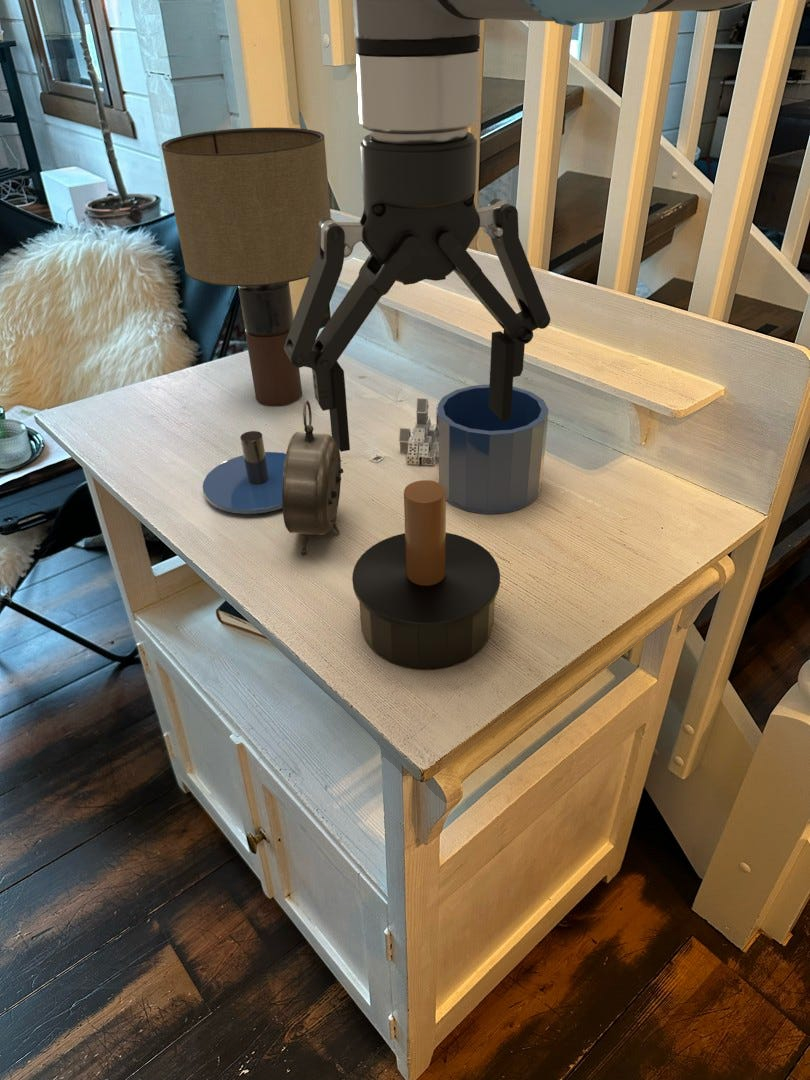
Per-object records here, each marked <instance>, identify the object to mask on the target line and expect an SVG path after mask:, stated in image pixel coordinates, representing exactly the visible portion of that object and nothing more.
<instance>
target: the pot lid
mask: <svg viewBox="0 0 810 1080" xmlns="http://www.w3.org/2000/svg"><path fill="white" fill-rule="evenodd" d="M239 440H240V445H241V450H242V455H239V456H236V457H232V458H230V459H228V460H226V461H223V462H221V463H220V464H218V465H216V466H215V467H214V468H212V469H211V470H210V471H209V472H208V473H207V474H206V476H205V478H204V479H203V482H202V493H203V495H204V498H205V499H206V501H207V502H208V503H209V504H210V505H212V506H213V507H214V508H216V509H219V510H221V511H224V512H227V513H233V514H240V515H254V514H263V513H268V512H269V513H270V512H273V511H277V510H280V509H281V510H282V509H283V508H282V479H283V469H284V463H285V457H286V452H285V453H284V452H278V451H266V449H265V443H264V437H263V434H262V432H261V431H258V430H249V431H246V432H243V433H242V434H241V435H240V439H239Z"/></svg>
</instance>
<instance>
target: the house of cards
mask: <svg viewBox="0 0 810 1080" xmlns="http://www.w3.org/2000/svg"><path fill="white" fill-rule="evenodd" d="M429 407H430V406H429V400H428V398H420V397H419V398H417V399H416V411H415V415H416V422H415V423H414V426H413V428H412V431H411V430H410V428H409V427H408V428H407V427H399V431H398V432H399V433H398V442H399V453H400V454H406V455H405V465H415V466H420V465H421V466H422V465H423V466H434V467H435V466H436V458H437V423H432V422H431V416H430V415H429ZM385 457H386V456H385V455H381V454H378V453H376V454H375V455H374V456H373V457H371V458H370V459H369V461H372V462H374V463H380V461H381V460H383V459H384V458H385Z"/></svg>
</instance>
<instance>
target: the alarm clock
mask: <svg viewBox="0 0 810 1080" xmlns="http://www.w3.org/2000/svg"><path fill="white" fill-rule="evenodd" d="M307 410H308V424H307ZM312 415H313V413H312V408H311V403H310V401H309V400H308V399H305V400H304V402H303V408H302V418H303V427H304V432H300V431H296V432H295V433H293V434H292V436H291V438H290V440H289V441H288V445H287V449H286V452H285V453H286V457H285V463H284V469H283V479H282V508H281V509H282V517H283V522H284V526H285V528H286V530H287V531H288V532H289V533H290V534H300V537H301V538H300V544H301V549H300V554H301V556H305V555H306V554H307V544H308V539H309V535H315V536H316V535H317V536H322V535H325V534H327V533H329V532H330V531H331V530H332V528H333V529H334V531H335V532H336V533H337V534H340V532H341V531H340V529H339V528H338V526H337V523H336V522H337V513H338V509H339V503H340V497H341V496H340V495H341V483H342V482H341V481H342V474H343V473H344V469H343V468H342V461H341V452H340V450H339V448H338V446H337V444H336V443H335V441H334V439H333V437H332V435H331V434H327V433H326V434H325V433H314V426H313V425H312V421H313V416H312Z"/></svg>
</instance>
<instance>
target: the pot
mask: <svg viewBox="0 0 810 1080" xmlns="http://www.w3.org/2000/svg"><path fill="white" fill-rule="evenodd" d="M489 386H490V384H475V385H469V386H466V387H462V388H458V389H455V390H453V391H451V392H449V393H448V394H446V395H443V397H441V399H440V400H439V402H438V404H437V405H436V406H435V407H436V409H435V410H436V412H435V415H436V416H435V417H436V424H437V454H436V482H438V483H440V484H441V485H443V486H444V488H445V490H446V503H448V504H450V505H452V506H453V507H455V508H458V509H461V510H463V511H467V512H470V513H475V514H484V515H500V514H507V513H512V512H515V511H519V510H522V509H524V508H526V507H528V506H529V505H531V504H532V503H534V502H535V501H536V500H537V498H538V497H539V495H540V493H541V490H542V489H541V488H542V485H543V476H544V475H543V474H544V465H545V455H546V445H547V444H546V442H547V431H548V420H549V408H548V405H547V404H546V401H545V399H543V398H542V397H540V396H538V395H537V394H536V393H534V392H532V391H530V390H527V389H523V388H520V387H516V386H513V389H512V405H511V420H506V421H502V420H501V419H500V418H499V417H498V416H497V415H496V414H495V413H494V412H493V411H492V410H491V409H490V408H489Z"/></svg>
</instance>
